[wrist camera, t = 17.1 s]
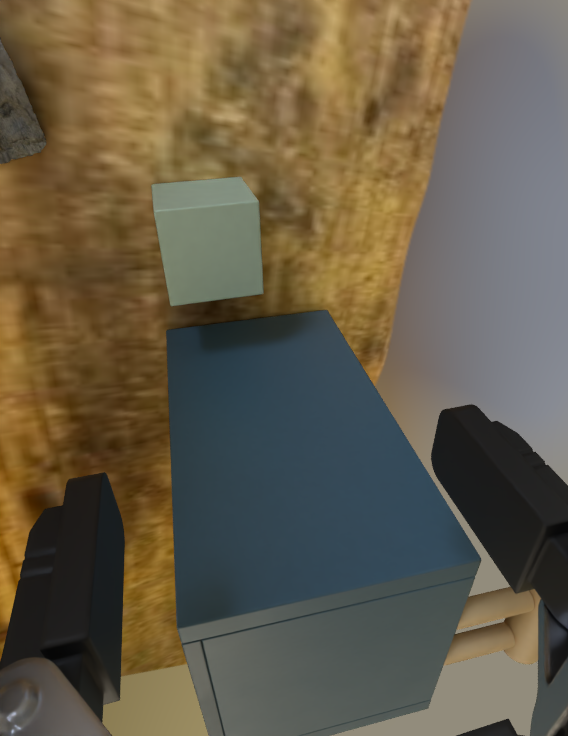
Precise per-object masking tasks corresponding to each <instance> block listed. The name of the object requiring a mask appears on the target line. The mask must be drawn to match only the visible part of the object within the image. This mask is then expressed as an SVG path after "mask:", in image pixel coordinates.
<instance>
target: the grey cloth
mask: <svg viewBox="0 0 568 736" xmlns="http://www.w3.org/2000/svg"><path fill="white" fill-rule="evenodd" d="M45 140H46V139H45V137H44V133H43V132H42V129H41V128H40V126H39V123H38V121H37V118H36V114H34V113H33V110H32V105H30V103H29V99H28V96H27V95H26V93H25V89H24V88H23V85H22V82H21V80H20V79H19V78H18V76H17V75H16V70H15V68H14V67H13V62H12V61H11V60H10V57H9V55H8V53H7V52H6V51H5V49H4V47H3V44H2V42H1V38H0V164H2V163H8V162H9V161H11V159H18V158H22V157H26V156H32V155H33V154H34V153H39V152H41V150H42V149H43V148H44V146H45V145H46V141H45Z"/></svg>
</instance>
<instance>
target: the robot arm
mask: <svg viewBox="0 0 568 736" xmlns="http://www.w3.org/2000/svg"><path fill="white" fill-rule="evenodd" d="M431 460H432V466H433V470H434V472H435V475H436V477H437V478H438V480H439V481H440V483H441V484H442V486H443V487H444V489H445V490H446V492H447V493H448V495H449V496H450V498H451V499H452V500H453V502H454V503H455V505H456V506H457V508H458V509H459V511H460V512H461V514H462V515H463V517H464V518H465V520H466V521H467V523H468V524H469V526H470V527H471V529H472V530H473V532H474V533H475V534H476V536H477V537H478V539H479V540H480V542H481V543H482V545H483V546H484V548H485V549H486V551H487V552H488V554H489V555H490V557H491V558H492V560H493V561H494V563H495V564H496V566H497V567H498V568H499V570H500V571H501V573H502V575H503V576H504V577H505V579H506V580H507V582H508V583H509V585H510V586H511V588H512V589H513V591H514V592H515V594H518V593H521V592H525V591H528V590H532V589H535V591H536V592H537V593H538V595H539V596H540V598H541V599H540V602H539V605H538V693H537V699H536V704H535V707H534V711H533V715H532V721H531V730H530V736H568V485H567V484H566V483H565V482H564V481H563V480H562V479H561V478H560V477H559V476H558V475H557V474H556V473H555V472H554V471H553V470H552V469H551V468H550V467H549V465H545V461H543V459H542V458H541V457H540V456H539V455H538V454H537V453H536V452H533V450H532V448H531V447H530V446H529V445H528V443H526V441H525V440H524V439H523V438H522V437H521V436H520V435H519V434H518V433H517V432H515V431H513V430H511V429H510V428H508V427H507V426H505V425H503V424H502V423H500V422H498V421H494V422H491V421H490V420H489V419H488V418H487V417H486V416H485V414H484V413H483V412H482V411H481V410H480V409H479V408H478V407H477V406H475V405H465V406H461V407H455V408H450V409H445V410H442V411H441V413H440V415H439V419H438V424H437V429H436V434H435V439H434V443H433V448H432V453H431ZM124 548H125V541H124V529H123V523H122V518H121V515H120V512H119V509H118V506H117V503H116V500H115V497H114V494H113V491H112V488H111V485H110V482H109V479H108V476H107V474H106V473H105V472H104V473H99V474H93V475H88V476H83V477H77V478H72V479H69V480H68V482H67V485H66V490H65V496H64V502H63V505H62V506H57V507H52V508H47V509H45V510H44V511H43V513H42V514H41V516H40V517H39V518H38V520H37V521H36V523H35V524H34V526H33V527H32V529H31V530H30V533H29V537H28V542H27V546H26V551H25V555H24V556H25V560H23V564H22V568H21V573H20V577H21V579H20V580H19V582H18V586H17V591H16V595H15V600H14V604H13V609H12V613H11V618H10V622H9V627H8V631H7V636H6V640H5V645H4V649H3V654H2V658H1V661H0V736H112V735H111V734H110V732H109V731H108V730H107V729H106V727H105V726H104V725H103V723H102V718H103V705H105V704H109V703H112V702H116V701H119V700H120V679H121V647H122V614H123V581H124ZM457 736H523V735H517V734H516V731H515V730H514V728H513V726H512V724H511V722H510V720H509V719H506V720H503V721H500V722H496V723H493V724H491V725H487V726H484V727H481V728H478V729H475V730H472V731H469V732H466V733H463V734H460V735H457Z"/></svg>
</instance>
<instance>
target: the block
mask: <svg viewBox="0 0 568 736" xmlns="http://www.w3.org/2000/svg"><path fill="white" fill-rule="evenodd" d="M151 187H152V198H153V209H154V216H155V222H156V228H157V233H158V239H159V245H160V250H161V256H162V261H163V267H164V273H165V278H166V284H167V290H168V295H169V301H170V305H171V306H177V305H184V304H192V303H199V302H207V301H214V300H222V299H230V298H237V297H245V296H252V295H260V294H263V293H264V289H263V270H262V250H261V231H260V212H259V201H258V200H257V198H256V197H255V195H254V194H253V193H252V191H251V190H250V189H249V187H248V186H247V184H246V183H245V182H244V180H243V179H242V178H241V177H232V178H220V179H209V180H197V181H185V182H173V183H161V184H152V186H151Z"/></svg>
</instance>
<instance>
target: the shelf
mask: <svg viewBox="0 0 568 736" xmlns="http://www.w3.org/2000/svg"><path fill="white" fill-rule="evenodd" d="M166 338H167V366H168V394H169V422H170V450H171V478H172V506H173V534H174V562H175V590H176V618H177V630H178V633H179V636H180V640H181V642H182V647H183V651H184V654H185V657H186V661H187V664H188V667H189V671H190V674H191V678H192V681H193V684H194V688H195V691H196V694H197V698H198V701H199V705H200V708H201V711H202V715H203V718H204V721H205V725H206V728H207V731H208V735H209V736H330V735H334V734H337V733H341V732H344V731H348V730H352V729H355V728H359V727H363V726H366V725H370V724H374V723H377V722H381V721H384V720H388V719H392V718H395V717H399V716H402V715H406V714H410V713H413V712H417V711H420V710H424V709H427V708H428V707H429V704H430V702H431V698H432V695H433V693H434V690H435V687H436V684H437V681H438V679H439V676H440V673H441V671H442V668H443V665H449V664H452V663H456V662H460V661H464V660H468V659H472V658H475V657H479V656H483V655H487V654H491V653H494V652H498V651H502V650H504V652H505V653H506V654H507V655H508V656H509V657H510V658H511V659H513V660H515V661H516V662H519V663H522V664H533V663H535V662H537V661H538V605H539V602H540V599H541V598H540V596H539V595H538V593H537V592H536V591H535V589H532V590H528V591H525V592H521V593H518V594H515V592H514V591H513V589H512V588H511V587H508V588H503V589H499V590H495V591H491V592H487V593H483V594H478V595H474V596H470V597H468V595H469V593H470V590H471V588H472V585H473V582H474V579H475V575H476V574H477V571H478V568H479V565H480V563H481V558H480V556H479V554H478V553H477V551H476V549H475V548H474V546H473V545H472V543H471V541H470V540H469V538H468V536H467V535H466V533H465V532H464V530H463V528H462V527H461V525H460V524H459V522H458V520H457V519H456V517H455V515H454V514H453V512H452V511H451V509H450V508H449V506H448V505H447V503H446V501H445V499H444V498H443V496H442V495H441V493H440V491H439V490H438V488H437V486H436V485H435V483H434V482H433V480H432V478H431V477H430V475H429V474H428V472H427V470H426V469H425V467H424V466H423V464H422V462H421V461H420V459H419V458H418V456H417V455H416V453H415V451H414V449H413V448H412V446H411V445H410V443H409V441H408V440H407V438H406V437H405V435H404V433H403V432H402V430H401V428H400V427H399V425H398V424H397V422H396V420H395V419H394V417H393V416H392V414H391V412H390V411H389V409H388V407H387V406H386V404H385V403H384V401H383V399H382V398H381V396H380V395H379V393H378V391H377V390H376V388H375V387H374V385H373V383H372V382H371V380H370V378H369V377H368V375H367V374H366V372H365V370H364V369H363V367H362V366H361V364H360V362H359V361H358V359H357V358H356V356H355V354H354V353H353V351H352V349H351V348H350V346H349V345H348V343H347V341H346V340H345V338H344V337H343V335H342V333H341V332H340V330H339V328H338V327H337V325H336V324H335V322H334V320H333V319H332V317H331V316H330V314H329V312H328V311H327V310H321V311H314V312H306V313H298V314H290V315H282V316H274V317H266V318H258V319H250V320H242V321H234V322H227V323H219V324H211V325H203V326H195V327H187V328H179V329H171V330H167V331H166ZM502 618H505V620H504V622H502V623H498V624H494V625H490V626H486V627H482V628H478V629H474V630H470V631H466V632H462V633H458V634H455V632H456V629H457V630H458V629H462V628H466V627H470V626H474V625H478V624H482V623H486V622H490V621H494V620H498V619H502Z"/></svg>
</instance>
